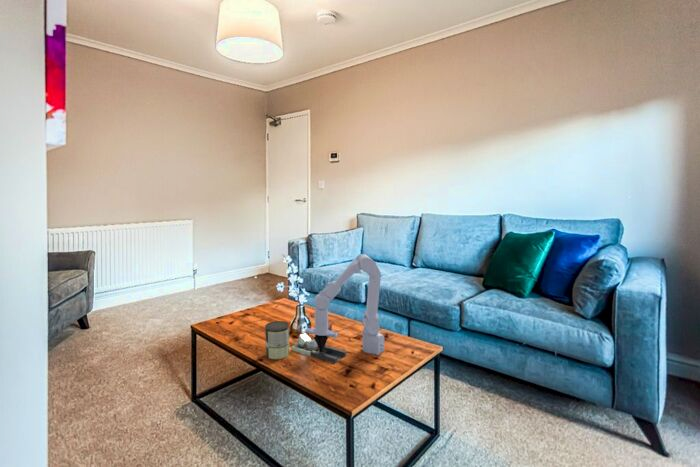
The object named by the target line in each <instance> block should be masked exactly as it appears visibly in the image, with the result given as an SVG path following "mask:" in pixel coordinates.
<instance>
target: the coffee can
mask: <svg viewBox="0 0 700 467" xmlns="http://www.w3.org/2000/svg"><path fill="white" fill-rule="evenodd" d="M264 330H265V357H266V358H268V359H270V360H283V359H286V358H287V357H289V356H290V323H288V322H287V321H285V320H283V321H281V320H274V321H271V322H268V323H266V324H265V325H264Z"/></svg>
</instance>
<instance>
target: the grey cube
mask: <svg viewBox="0 0 700 467" xmlns="http://www.w3.org/2000/svg"><path fill="white" fill-rule="evenodd" d="M305 348H306V350H307V351H310V352H311V351H318V350H319V348H318V345H317V343H316V341H315V339H314V338H313V339H311V340H310V341H308V342H306V347H305Z"/></svg>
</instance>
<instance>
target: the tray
mask: <svg viewBox="0 0 700 467" xmlns="http://www.w3.org/2000/svg"><path fill="white" fill-rule="evenodd" d="M291 351H293V352H297V353H298V354H299V353H300V354H303V355H305V356H309V357H312V356H311V351H307V349H304V348H301V347H300V346H299V344H298V343H297V342H296V343H295V344H294V345H292V346H291Z"/></svg>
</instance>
